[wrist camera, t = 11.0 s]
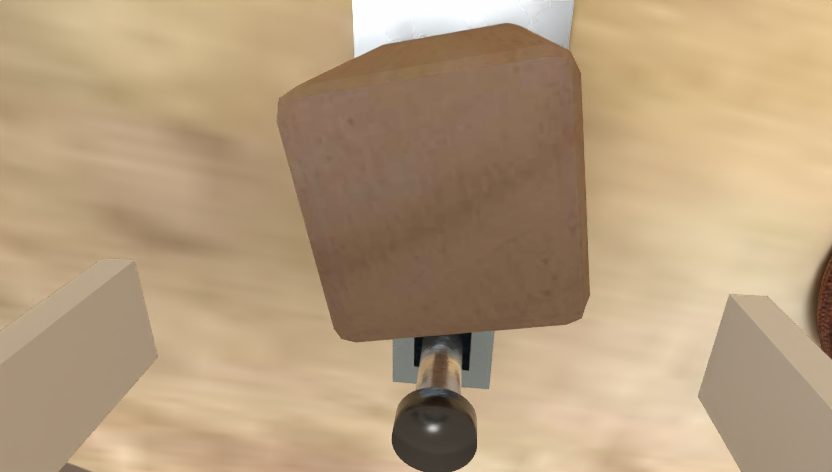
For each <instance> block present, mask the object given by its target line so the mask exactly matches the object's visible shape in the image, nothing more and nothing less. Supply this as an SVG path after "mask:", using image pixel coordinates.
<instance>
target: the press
mask: <svg viewBox="0 0 832 472" xmlns="http://www.w3.org/2000/svg"><path fill="white" fill-rule="evenodd" d="M573 8H574V0H353V29H354V58H356V57H358V56H361V55H363V54H365V53H367V52H369V51H371V50H373V49H375V48H377V47H379V46H381V45H384V44H390V43H395V42H401V41H407V40H412V39H418V38H424V37H429V36H435V35H441V34H446V33H452V32H458V31H463V30H469V29H475V28H480V27H486V26H492V25H497V24H503V23H512V24H515V25H519V26H522V27H524V28H526V29H528V30H530V31H532V32H534V33H536V34H538V35H540V36H542V37H544V38H546V39H548V40H550V41H552V42H554V43H556V44H558V45H560V46H562V47H564V48H566V49H568V47H569V39H570V31H571V24H572V16H573ZM493 340H494V331H484V332H472V333H463V342H462V378H461V387H469V388H482V389H489V383H490V373H491V362H492V351H493ZM422 343H423V337H413V338H401V339H393V382H404V383H417V378H418V371H419V364H420V357H421V350H422Z"/></svg>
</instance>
